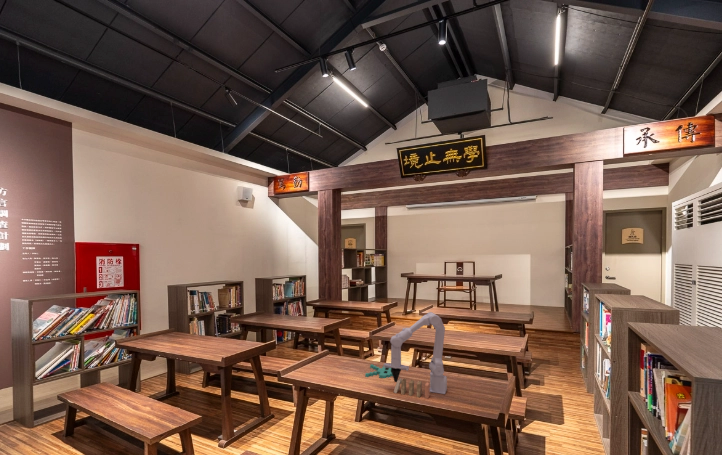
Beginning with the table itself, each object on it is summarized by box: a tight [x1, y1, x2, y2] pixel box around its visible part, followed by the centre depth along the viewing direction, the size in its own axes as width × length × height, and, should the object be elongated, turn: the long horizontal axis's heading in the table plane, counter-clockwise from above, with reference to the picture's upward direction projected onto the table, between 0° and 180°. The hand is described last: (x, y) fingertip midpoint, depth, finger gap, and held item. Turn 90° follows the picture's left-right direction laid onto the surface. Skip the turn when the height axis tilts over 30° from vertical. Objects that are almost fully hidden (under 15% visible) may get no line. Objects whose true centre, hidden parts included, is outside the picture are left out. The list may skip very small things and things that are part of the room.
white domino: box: [393, 377, 403, 394], centre depth 204 cm, size 2×5×7 cm, turn 156°
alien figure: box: [364, 364, 393, 379], centre depth 236 cm, size 20×2×20 cm
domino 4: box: [424, 381, 431, 400], centre depth 198 cm, size 2×5×7 cm, turn 158°
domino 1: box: [400, 378, 407, 396], centre depth 203 cm, size 2×5×7 cm, turn 158°
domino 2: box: [408, 379, 415, 397], centre depth 201 cm, size 2×5×7 cm, turn 158°
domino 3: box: [416, 380, 423, 398], centre depth 200 cm, size 2×5×7 cm, turn 158°
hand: (396, 381), depth 205 cm, fingers closed
